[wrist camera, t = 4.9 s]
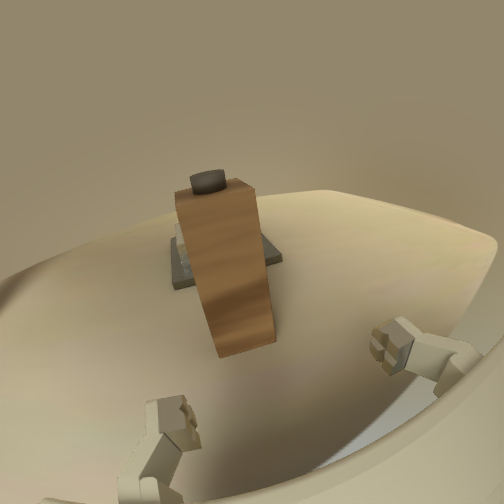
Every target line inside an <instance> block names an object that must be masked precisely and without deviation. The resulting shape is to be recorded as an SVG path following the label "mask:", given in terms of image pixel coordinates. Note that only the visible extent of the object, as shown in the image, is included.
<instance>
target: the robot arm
mask: <svg viewBox="0 0 504 504" xmlns="http://www.w3.org/2000/svg"><path fill="white" fill-rule="evenodd" d="M372 336H373V337H374V338H373V339H372V341H371V342H370V351H371V354H372V356H373V357H374V359H375V360H376V361H379V362H382V368H383V369H384V370H385V371H386V372H387V373H388V374H389V376H392V375H394V374H395V373H397V372H399V371H401V370H402V369H404V368H405V370H408V371H410V372H413V373H415V374H418V375H420V376H423V377H425V378H428V379H430V380H433V381H436V382H438V383H437V385H436V387H435V389H434V391H433V393H434V394H435V395H436V396H437V397H438V399H437V400H436V401H435V402H433V403H432V404H431V405H430V406H428V407H427V408H425V409H424V410H423V411H421V412H420V413H418V414H417V415H416V416H414V417H413V418H411V419H410V420H408V421H407V422H405V423H404V424H402V425H401V426H399V427H398V428H396V429H395V430H393V431H391V432H390V433H388V434H386V435H385V436H383V437H382V438H380V439H378V440H376V441H375V442H373V443H371V444H369V445H367V446H366V447H364V448H362V449H360V450H358V451H356V452H354V453H352V454H351V455H348V456H346V457H344V458H342V459H340V460H338V461H336V462H334V463H331V464H329V465H327V466H324V467H322V468H320V469H317V470H315V471H312V472H310V473H307V474H305V475H302V476H299V477H297V478H294V479H291V480H288V481H285V482H282V483H279V484H276V485H273V486H269V487H266V488H263V489H259V490H255V491H252V492H248V493H244V494H239V495H235V496H230V497H225V498H220V499H215V500H209V501H203V502H196V503H188V504H504V336H503V337H502V338H501V339H500V341H499V342H498V343H497V344H496V345H495V346H494V347H493V348H492V349H491V350H490V352H489V353H488V354H487V355H486V356H485V357H484V356H483V355H482V354H480V353H479V352H478V351H477V350H476V349H475V348H474V347H472V346H471V345H470V344H469V343H468V342H464V341H459V340H455V339H451V338H447V337H442V336H438V335H434V334H430V333H425V334H424V333H422V332H421V331H420V330H419V329H418V328H417V327H415V326H414V325H413V324H412V323H411V322H410V321H408V320H407V319H406V318H405V317H404V316H402V315H399V316H397V317H395V318H393V319H392V320H389V321H387V322H385V323H383V324H381V325H379V326H377V327H375V328H374V329H373V331H372ZM145 413H146V436H143V437H142V439H141V440H140V442H139V443H138V445H137V447H136V448H135V450H134V451H133V453H132V455H131V456H130V458H129V459H128V461H127V463H126V464H125V466H124V468H123V469H122V471H121V472H120V474H119V476H118V477H117V484H118V500H119V504H184V502H183V498H182V495H181V494H179V493H178V492H176V491H174V490H173V489H171V488H169V485H170V483H171V480H172V478H173V475H174V473H175V470H176V468H177V466H178V463H179V461H180V458H181V456H182V452H187V451H192V450H196V449H201V448H202V446H201V441H200V436H199V434H198V432H197V431H196V430H195V429H196V427H197V422H196V418H195V415H194V412H193V410H192V408H191V406H190V405H188V404H187V400H186V398H185V396H184V395H179V396H173V397H168V398H162V399H156V400H150V401H146V404H145ZM38 504H84V503H76V502H70V501H64V500H59V499H54V498H43V499H42V500H41V501H40V502H39V503H38Z"/></svg>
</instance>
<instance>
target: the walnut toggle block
mask: <svg viewBox="0 0 504 504" xmlns="http://www.w3.org/2000/svg"><path fill="white" fill-rule="evenodd" d="M190 181H191V186H192V188H189V189H185V190H181V191H177V192H175V205H176V211H177V215H178V219H179V223H180V227H181V231H182V235H183V239H184V243H185V247H186V250H187V254H188V258H189V261H190V265H191V269H192V272H193V276H194V279H195V283H196V286H197V290H198V293H199V296H200V300H201V303H202V306H203V310H204V313H205V316H206V319H207V322H208V325H209V329H210V332H211V335H212V338H213V341H214V344H215V347H216V350H217V353H218V356H219V358H223V357H226V356H230V355H234V354H237V353H241V352H244V351H247V350H251V349H254V348H257V347H260V346H264V345H267V344H270V343H273V342H276V338H275V330H274V323H273V315H272V308H271V301H270V293H269V286H268V279H267V272H266V265H265V258H264V251H263V244H262V237H261V230H260V223H259V216H258V209H257V203H256V196H255V190H254V188H252V187H251V186H249V185H248V184H246V183H244V182H242V181H241V180H239V179H237V178H234V179H230V180H226V179H225V173H224V170H212V171H206V172H201V173H198V174H195V175H192V176H190Z"/></svg>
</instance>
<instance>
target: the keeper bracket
mask: <svg viewBox="0 0 504 504" xmlns="http://www.w3.org/2000/svg"><path fill="white" fill-rule="evenodd" d="M175 228H176V237H174V238H171V263H172V284H173V287H174V290H177V289H181V288H185V287H188V286H192V285H196V283H195V279H194V276H193V272H192V269H191V265H190V261H189V258H188V254H187V250H186V247H185V243H184V239H183V235H182V231H181V227H180V223H178V224H175ZM261 237H262V244H263V251H264V258H265V265H266V266H267V265H270V264H274V263H278V262H281V261H282V254H281V253H280V252H279V251H278V250H277V249H276V248H275V247H274V246H273V245H272V244H271V243H270V242H269V240H268V239H267V238H266V237H265V236H264V235H263V234H262V233H261Z"/></svg>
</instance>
